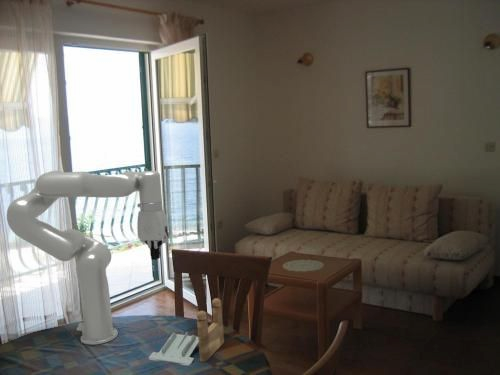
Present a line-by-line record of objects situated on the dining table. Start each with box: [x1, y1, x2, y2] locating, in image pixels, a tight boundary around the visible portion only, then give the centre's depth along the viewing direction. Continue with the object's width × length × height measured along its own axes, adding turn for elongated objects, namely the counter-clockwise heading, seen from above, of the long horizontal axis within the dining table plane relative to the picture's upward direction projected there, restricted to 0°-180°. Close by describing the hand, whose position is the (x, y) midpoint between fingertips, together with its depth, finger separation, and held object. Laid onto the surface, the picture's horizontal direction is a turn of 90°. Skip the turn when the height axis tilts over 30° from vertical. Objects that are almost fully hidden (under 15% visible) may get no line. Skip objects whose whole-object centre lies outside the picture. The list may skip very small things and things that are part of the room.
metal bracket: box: [148, 331, 199, 366], centre depth 163 cm, size 14×6×15 cm
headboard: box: [196, 297, 225, 363], centre depth 162 cm, size 3×14×16 cm, turn 159°
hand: (155, 258), depth 176 cm, fingers closed
